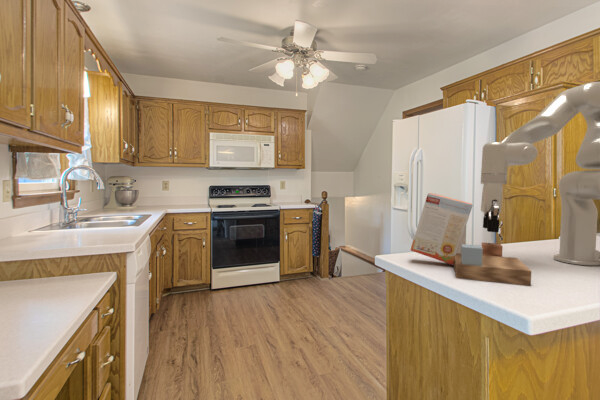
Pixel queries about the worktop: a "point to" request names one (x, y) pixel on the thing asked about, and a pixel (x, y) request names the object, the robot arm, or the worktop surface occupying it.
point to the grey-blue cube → (471, 254)
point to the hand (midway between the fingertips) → (490, 230)
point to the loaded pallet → (492, 249)
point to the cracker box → (441, 227)
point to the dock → (494, 270)
